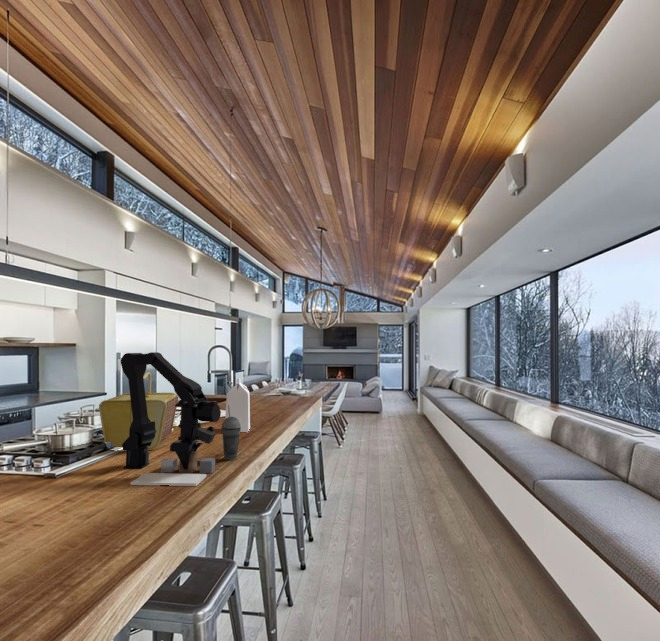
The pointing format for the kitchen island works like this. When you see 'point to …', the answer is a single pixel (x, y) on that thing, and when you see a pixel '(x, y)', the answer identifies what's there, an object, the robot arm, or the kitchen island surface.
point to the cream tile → (169, 479)
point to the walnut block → (190, 464)
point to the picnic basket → (120, 417)
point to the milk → (239, 405)
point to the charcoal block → (207, 465)
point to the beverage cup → (230, 436)
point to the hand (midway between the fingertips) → (188, 467)
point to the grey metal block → (169, 464)
